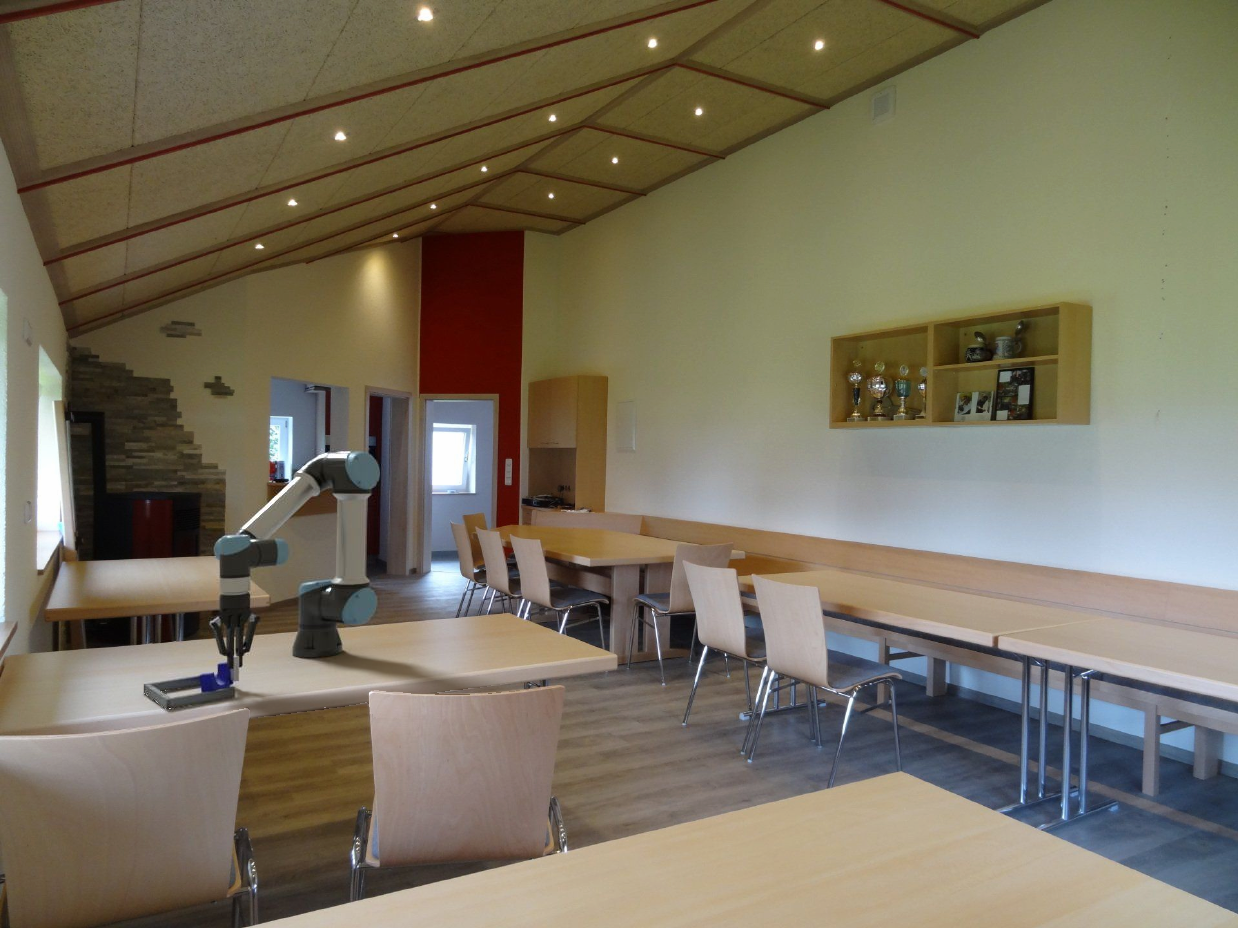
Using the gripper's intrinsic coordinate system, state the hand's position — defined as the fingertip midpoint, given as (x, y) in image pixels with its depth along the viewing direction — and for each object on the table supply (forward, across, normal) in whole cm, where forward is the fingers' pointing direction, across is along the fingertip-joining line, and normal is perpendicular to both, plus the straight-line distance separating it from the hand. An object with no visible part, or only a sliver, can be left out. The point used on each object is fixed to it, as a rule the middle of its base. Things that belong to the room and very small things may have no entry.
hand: (234, 680), depth 220 cm
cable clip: (+2, +5, 0) cm, 5 cm away
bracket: (+2, +11, 0) cm, 11 cm away
